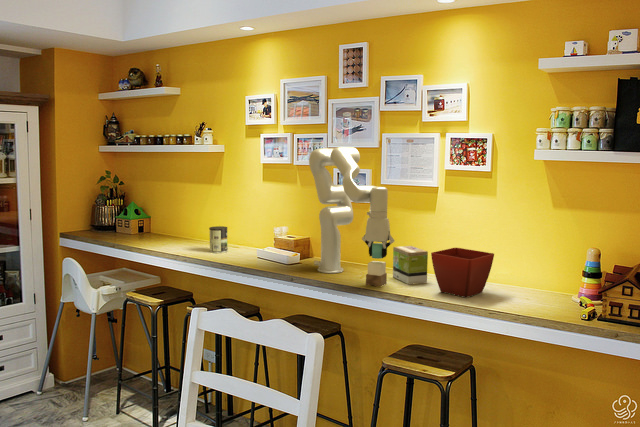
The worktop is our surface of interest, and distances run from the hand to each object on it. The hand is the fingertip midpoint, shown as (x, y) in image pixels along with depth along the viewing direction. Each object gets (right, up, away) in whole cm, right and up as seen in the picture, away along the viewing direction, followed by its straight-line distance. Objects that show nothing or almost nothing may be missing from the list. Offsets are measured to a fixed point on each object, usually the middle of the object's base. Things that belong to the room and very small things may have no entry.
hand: (377, 256), depth 242 cm
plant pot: (+34, -15, -11) cm, 38 cm away
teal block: (0, -1, 0) cm, 1 cm away
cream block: (0, -8, +1) cm, 8 cm away
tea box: (+16, -12, +10) cm, 22 cm away
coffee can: (-84, -4, +77) cm, 114 cm away
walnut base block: (0, -13, +2) cm, 13 cm away
